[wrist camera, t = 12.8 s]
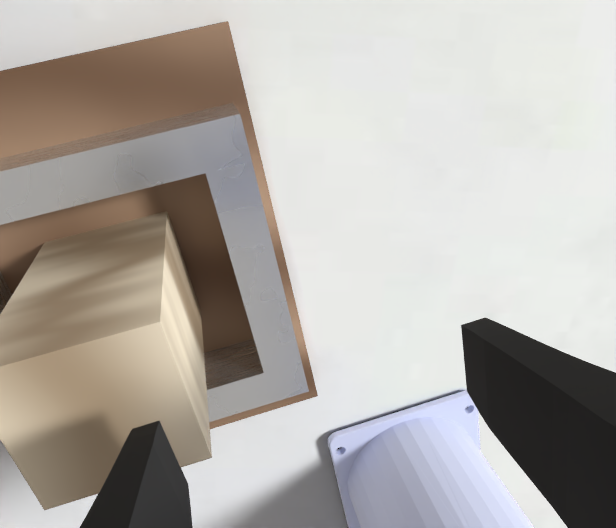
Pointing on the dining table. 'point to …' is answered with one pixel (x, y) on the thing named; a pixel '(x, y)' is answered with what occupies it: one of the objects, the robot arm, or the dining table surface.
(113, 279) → the peg
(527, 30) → the dining table surface
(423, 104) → the dining table surface
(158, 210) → the collar board
